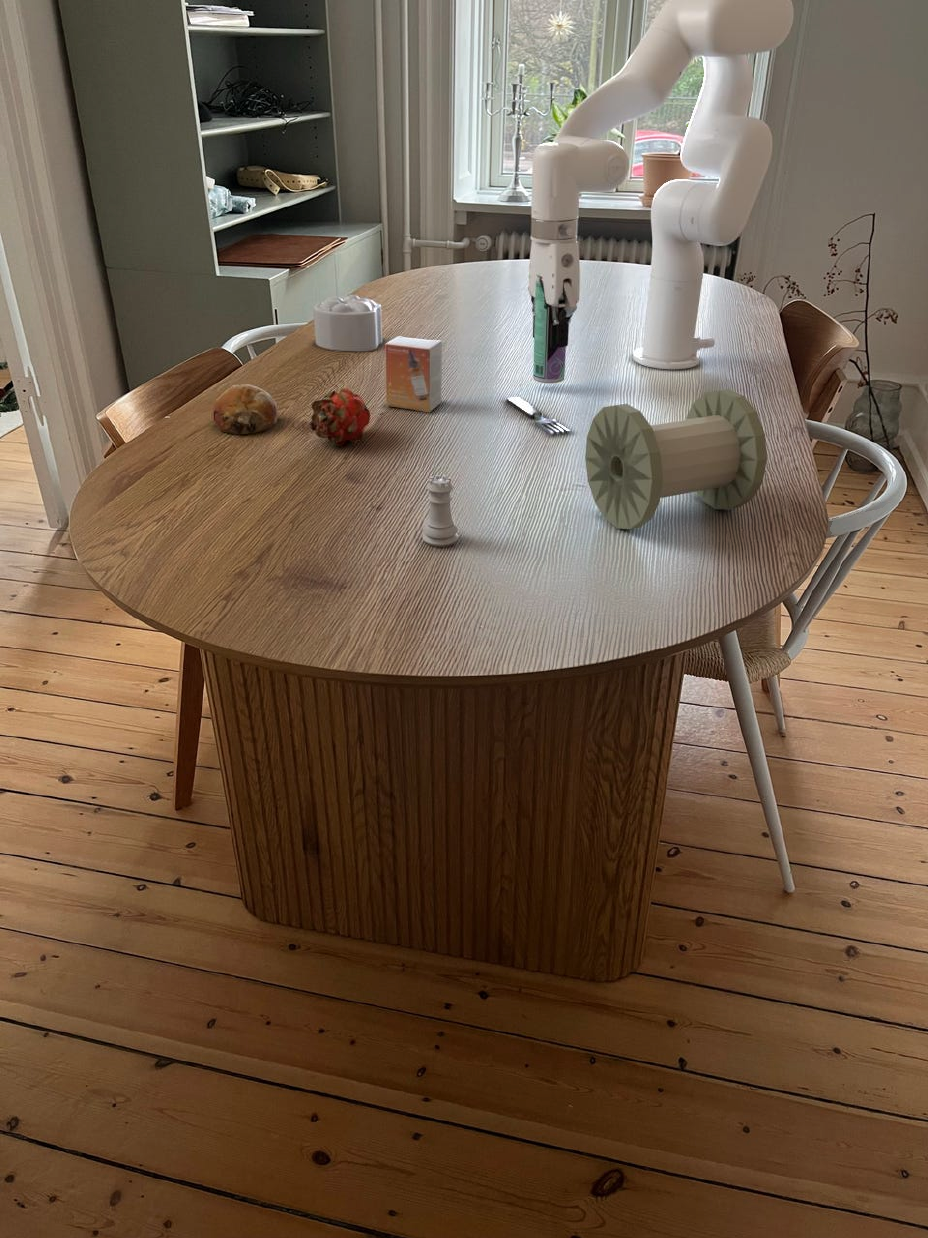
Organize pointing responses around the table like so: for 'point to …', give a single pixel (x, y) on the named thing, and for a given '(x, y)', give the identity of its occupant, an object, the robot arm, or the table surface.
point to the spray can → (546, 342)
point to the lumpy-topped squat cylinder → (348, 324)
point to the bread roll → (244, 410)
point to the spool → (675, 457)
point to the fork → (537, 417)
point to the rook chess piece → (440, 514)
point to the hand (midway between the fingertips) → (550, 341)
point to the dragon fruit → (340, 417)
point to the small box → (413, 373)
